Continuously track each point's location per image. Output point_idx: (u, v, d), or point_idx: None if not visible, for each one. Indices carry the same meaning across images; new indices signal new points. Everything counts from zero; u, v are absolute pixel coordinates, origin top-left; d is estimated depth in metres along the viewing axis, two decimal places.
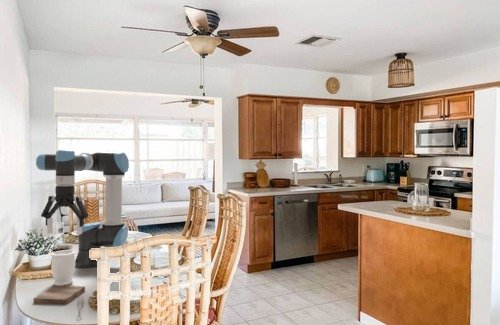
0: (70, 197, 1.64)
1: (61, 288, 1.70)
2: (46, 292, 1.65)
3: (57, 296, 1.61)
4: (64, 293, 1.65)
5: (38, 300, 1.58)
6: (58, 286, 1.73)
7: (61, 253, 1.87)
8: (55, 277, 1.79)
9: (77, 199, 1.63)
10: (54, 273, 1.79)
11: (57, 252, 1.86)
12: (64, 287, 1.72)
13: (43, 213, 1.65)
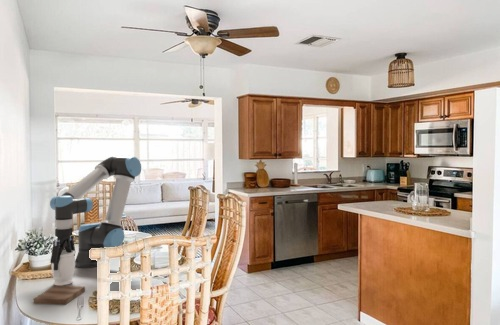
0: None
1: (61, 288, 1.70)
2: (46, 292, 1.65)
3: (57, 296, 1.61)
4: (64, 293, 1.65)
5: (38, 300, 1.58)
6: (58, 286, 1.73)
7: None
8: (55, 277, 1.79)
9: None
10: None
11: None
12: (64, 287, 1.72)
13: None
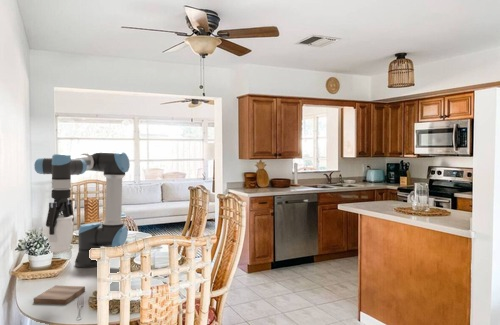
0: None
1: (61, 288, 1.70)
2: (46, 292, 1.65)
3: (57, 296, 1.61)
4: (64, 293, 1.65)
5: (38, 300, 1.58)
6: (58, 286, 1.73)
7: (58, 218, 1.70)
8: (51, 243, 1.62)
9: None
10: None
11: None
12: (64, 287, 1.72)
13: None
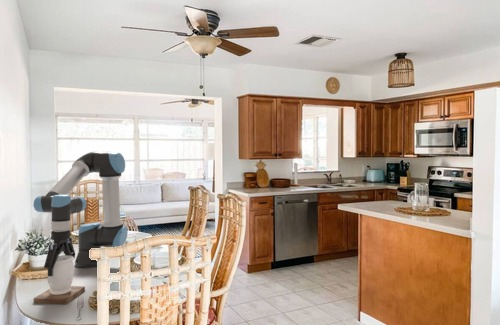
0: None
1: None
2: (46, 292, 1.65)
3: (57, 296, 1.61)
4: None
5: (38, 300, 1.58)
6: None
7: (58, 259, 1.70)
8: (51, 286, 1.62)
9: None
10: None
11: None
12: None
13: None
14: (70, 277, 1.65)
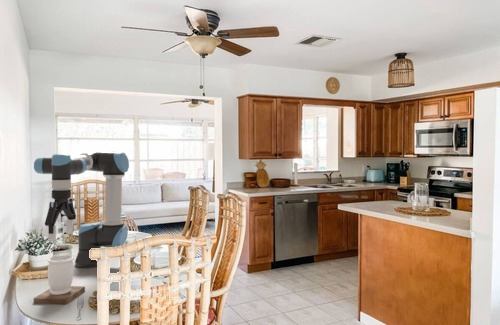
0: None
1: None
2: (46, 292, 1.65)
3: (57, 296, 1.61)
4: None
5: (38, 300, 1.58)
6: None
7: (58, 259, 1.70)
8: (51, 286, 1.62)
9: None
10: (50, 281, 1.61)
11: (54, 258, 1.68)
12: None
13: None
14: (70, 277, 1.65)
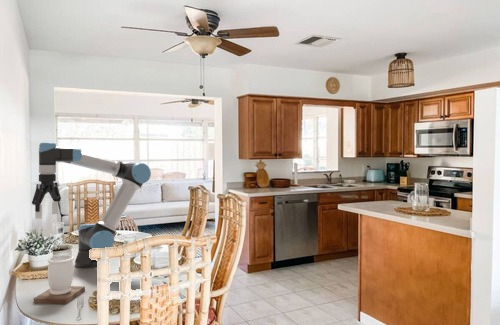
0: None
1: None
2: (46, 292, 1.65)
3: (57, 296, 1.61)
4: None
5: (38, 300, 1.58)
6: None
7: (58, 259, 1.70)
8: (51, 286, 1.62)
9: None
10: (50, 281, 1.61)
11: (54, 258, 1.68)
12: None
13: None
14: (70, 277, 1.65)
